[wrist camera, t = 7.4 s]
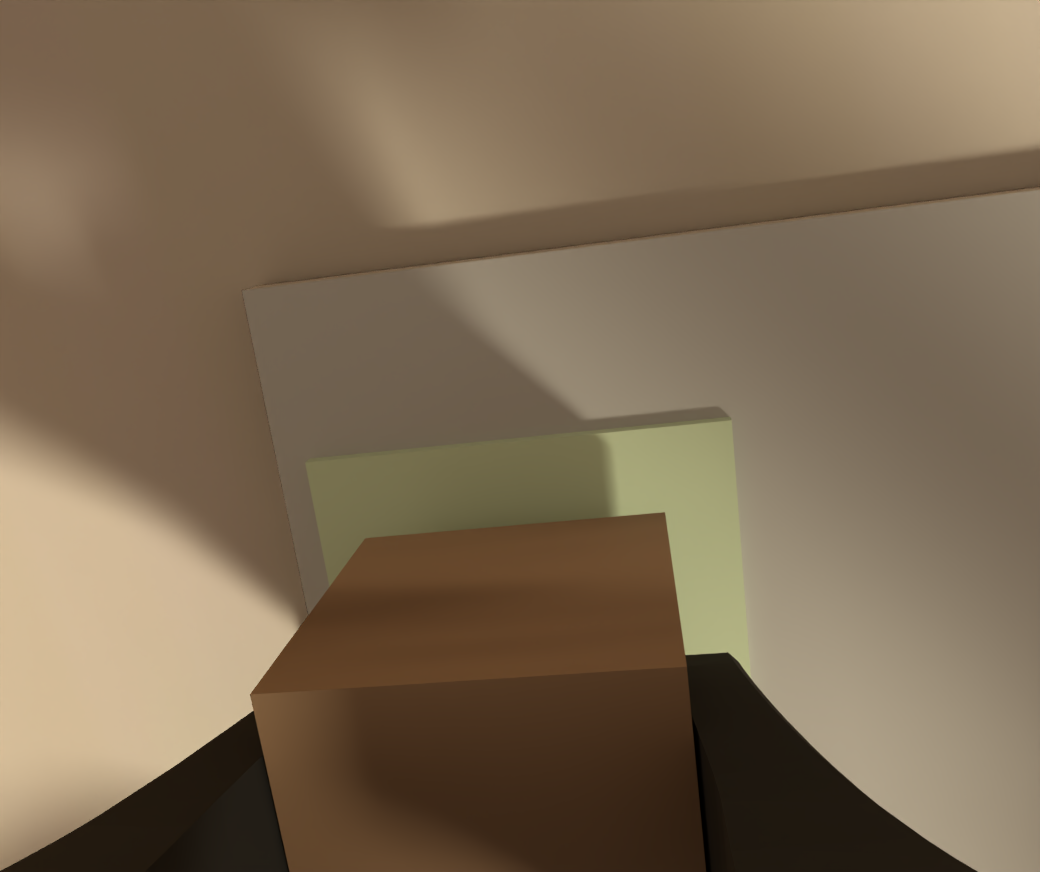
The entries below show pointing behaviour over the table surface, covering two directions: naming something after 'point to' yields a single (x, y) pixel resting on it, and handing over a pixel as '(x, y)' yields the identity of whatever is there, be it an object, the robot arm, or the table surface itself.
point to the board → (731, 461)
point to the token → (489, 707)
